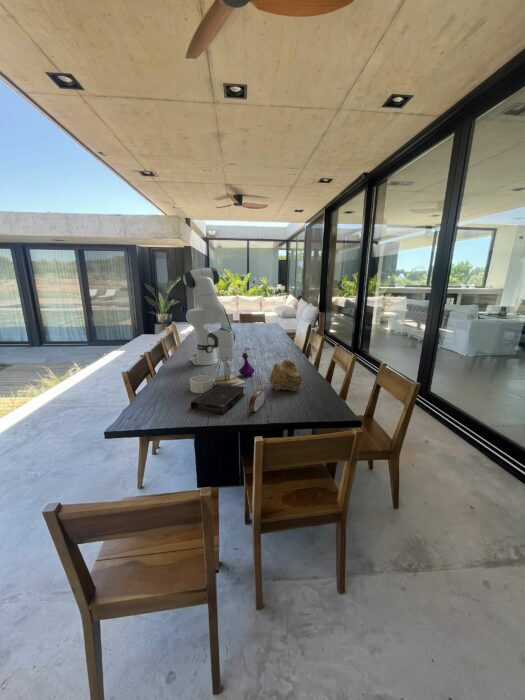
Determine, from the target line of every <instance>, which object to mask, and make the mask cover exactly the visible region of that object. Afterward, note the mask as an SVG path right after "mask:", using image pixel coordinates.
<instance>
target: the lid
mask: <svg viewBox="0 0 525 700" xmlns="http://www.w3.org/2000/svg"><path fill="white" fill-rule="evenodd" d="M214 379H215V382H216V383H217V384H220V385H221V384H223V385H233V384H236V383H238V382H239V379H240V378H239V377H237V376H236V375H233V376H230V375H229V379H226V376H225V375H222V376H221V375H220V376H218V377H216V378H214Z"/></svg>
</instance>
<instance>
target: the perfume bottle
mask: <svg viewBox="0 0 525 700" xmlns="http://www.w3.org/2000/svg"><path fill="white" fill-rule="evenodd" d="M243 351H244V352H242V355H241V358H243V360H244V363H243V366H241V368H240V369H239V370H238V373H239V374H240V375H241V376H243V377H246V378H248V377H250V376H252V375H253V374H254V372H255V368H253V366H252V365H251V364H250V362H249V361H248V358H249V355H248V353H247V351H250V348H249V347H244V349H243Z"/></svg>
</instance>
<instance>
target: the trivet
mask: <svg viewBox="0 0 525 700" xmlns="http://www.w3.org/2000/svg"><path fill="white" fill-rule="evenodd" d="M230 376H234V375H233V374H231V375H230ZM215 379H216V378H213V385H214V386H215V385H217V383H216V382H215ZM244 384H247V382H246V381H244V380H243V379H241V378H239V382H238V383H236V384H233V386H240V385H244Z"/></svg>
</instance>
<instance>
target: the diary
mask: <svg viewBox="0 0 525 700" xmlns="http://www.w3.org/2000/svg"><path fill="white" fill-rule="evenodd" d="M246 388H247V387H245V386H240V385H236V386H233V385H223V384H221V385H220V384H217V385H215V384H214V385H213V387H212V388H211V389H209V390H208V391H206V392H205V393H201V394H200V395H199V396H198V397H196V398H195V399H192V400H191V401H190V409H191V410H193V409H194V410H199V411H203V412H205V411H206V413H210V414H215V415H222V416H223V415H225V414H227V413H229V411H230V410H231V409H233V407H234V406H235V405H236V404H238V403H239V401H240V400H242V399H243V398H244V397H245V396H246V394H244V390H245V389H246Z"/></svg>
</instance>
